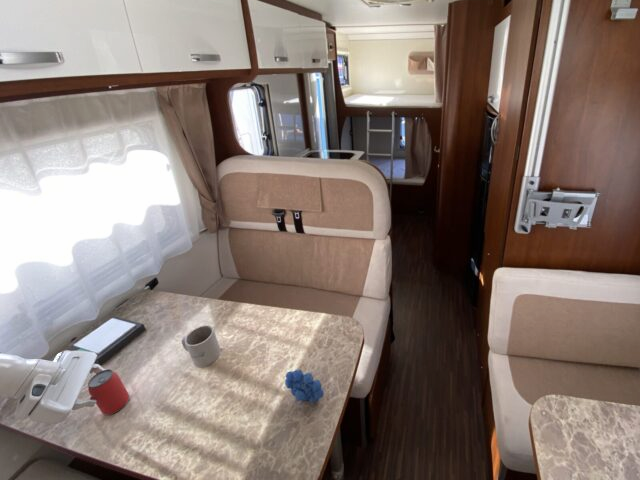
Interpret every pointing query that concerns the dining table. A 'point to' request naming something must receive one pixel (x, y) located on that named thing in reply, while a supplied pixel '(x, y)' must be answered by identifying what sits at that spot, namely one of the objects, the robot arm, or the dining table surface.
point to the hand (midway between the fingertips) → (101, 387)
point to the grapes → (303, 386)
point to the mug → (202, 345)
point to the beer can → (108, 391)
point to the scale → (109, 338)
